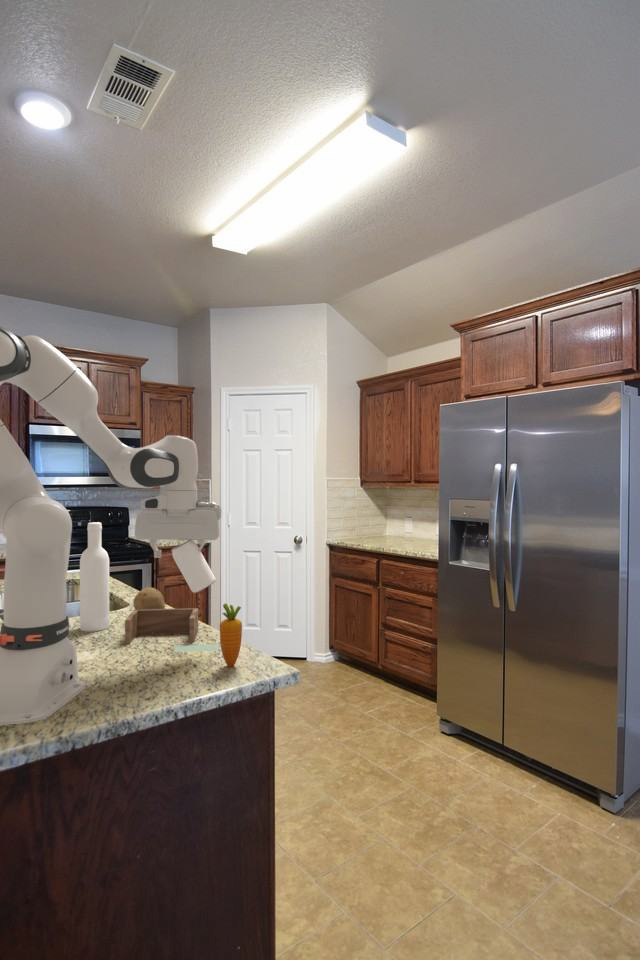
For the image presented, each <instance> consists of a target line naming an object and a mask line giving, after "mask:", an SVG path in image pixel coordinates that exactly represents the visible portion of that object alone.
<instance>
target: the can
mask: <svg viewBox="0 0 640 960" xmlns="http://www.w3.org/2000/svg"><path fill="white" fill-rule="evenodd" d="M198 549H199V546H198V544H197V543H196V542H195V541H194V540H186V541H184V542H183V543H181V544H180V545H178V546H176V547H174V548H172V549H171V553H172V558H173V560H174V562H175V563H176V565H177V567H178V570H179V571H180V573H181V575H182V577H183V578H184V579H185V581H186V583H187V585H188V587H189V588H190V590H191V592H192V593H193V594H196V593H199V592H202V591H203V590H205V589H207V588H208V587H210V586H211V585H213V584H214V583H215V582H216V579H217V578H216V577H215V575H214V573H213V571H212V569H211V567H210V566H209V564H208V562H207V560H206V559H205V556H204V555H203V553H202V550H201V551H200V553H199V551H198Z"/></svg>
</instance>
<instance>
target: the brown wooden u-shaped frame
mask: <svg viewBox="0 0 640 960" xmlns="http://www.w3.org/2000/svg"><path fill="white" fill-rule="evenodd" d="M185 633H186V634H189V643H195V641H196V638H197V635H198V633H199V608H198V607H194V608H193V607H191V608H189V607H188V608H186V607H185V608H165V609H143V610H135V609H133V610H132V611H131V612H130V614H129V615H128V616H127V617H126V619H125V620H124V644H125V645H130V644H132V642H133V641H134V640H135V638H136V637H137V636H138V635H151V634H152V635H153V634H157V635H158V634H185Z"/></svg>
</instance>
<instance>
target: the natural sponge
mask: <svg viewBox="0 0 640 960" xmlns="http://www.w3.org/2000/svg"><path fill="white" fill-rule="evenodd" d="M132 603H133V608H134V610H143V609H166V603H165V599H164V595H163V594H162V592H161V591H159V590H158V589H156V588H154V587H149V586H148V587H144V588H142V589H141V590H139V591H138V593H137V594H136V595H135V597H134V598H133V602H132Z"/></svg>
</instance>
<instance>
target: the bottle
mask: <svg viewBox="0 0 640 960" xmlns="http://www.w3.org/2000/svg"><path fill="white" fill-rule="evenodd" d="M86 530H87V548H86V549H85V550H84V551H83V552H82V553H81V555H80V559H79V630H81V631H82V632H85V633H86V632H87V633H89V632H94V633H95V632H99V631H101V632H102V631H104V630H106V629H108V628H109V627H110V622H111V621H110V620H111V616H110V557H109V554H108V552H107V551H108V550H107V551H106V550H105V548H103V547H102V531H103V526H102V522H99V521H97V522H95V521H94V522H93V521H92V522H88V523H87V528H86Z"/></svg>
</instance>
